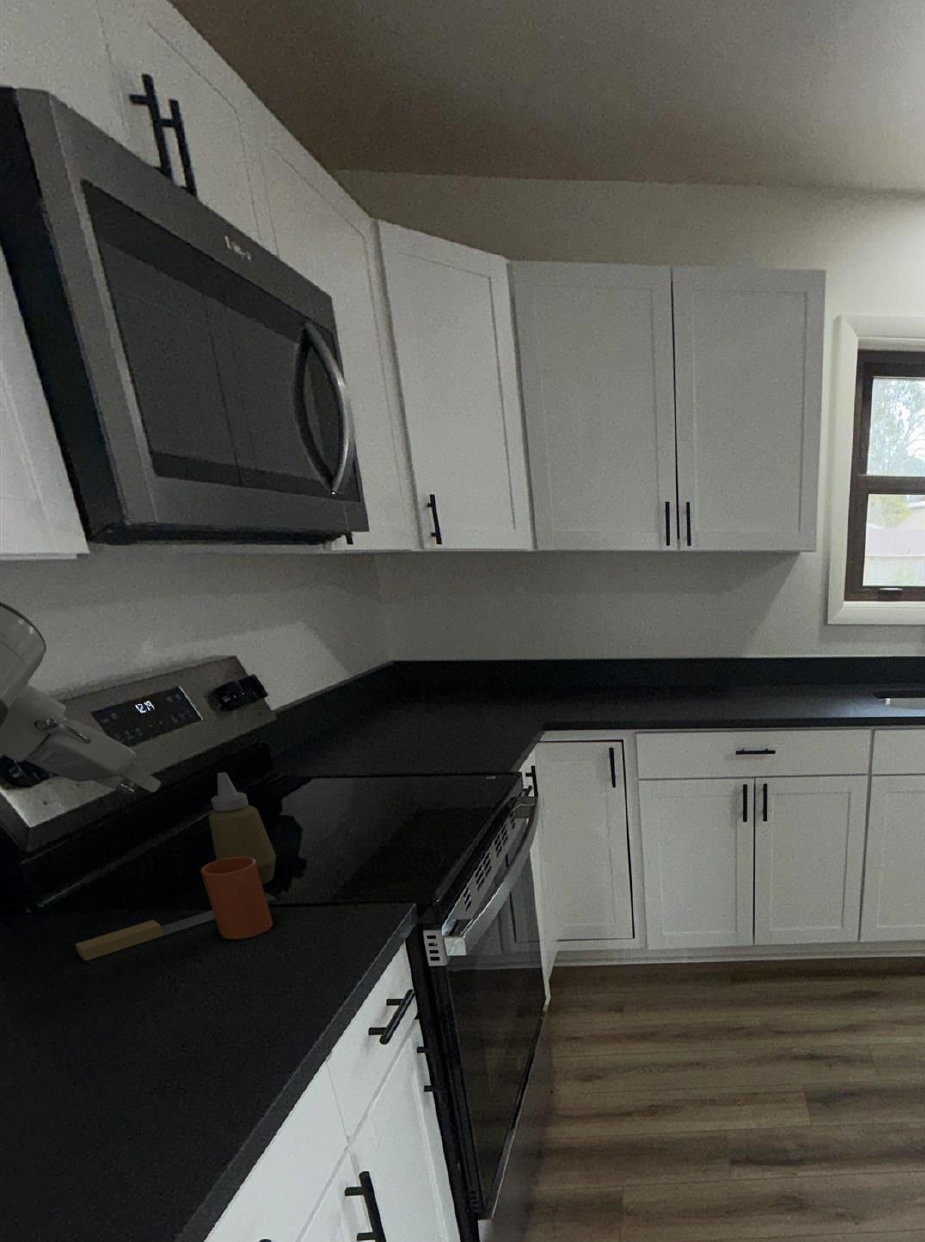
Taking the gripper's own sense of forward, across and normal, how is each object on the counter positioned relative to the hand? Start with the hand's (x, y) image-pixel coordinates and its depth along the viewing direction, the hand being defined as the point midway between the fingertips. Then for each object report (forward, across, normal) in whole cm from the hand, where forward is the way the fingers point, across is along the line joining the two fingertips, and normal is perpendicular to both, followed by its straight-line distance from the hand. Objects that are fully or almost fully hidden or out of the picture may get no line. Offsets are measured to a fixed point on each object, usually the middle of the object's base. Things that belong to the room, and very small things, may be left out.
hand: (144, 789), depth 108 cm
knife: (+14, +1, +14) cm, 20 cm away
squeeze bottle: (+21, +9, +3) cm, 23 cm away
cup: (+18, -8, +12) cm, 23 cm away
